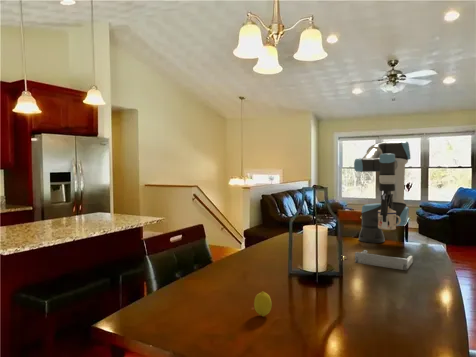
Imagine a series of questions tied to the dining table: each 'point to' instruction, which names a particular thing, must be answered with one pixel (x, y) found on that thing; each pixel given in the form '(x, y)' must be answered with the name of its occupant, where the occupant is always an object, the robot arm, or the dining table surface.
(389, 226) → the teacup with lid
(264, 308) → the lemon
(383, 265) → the aluminium dock
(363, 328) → the dining table surface
